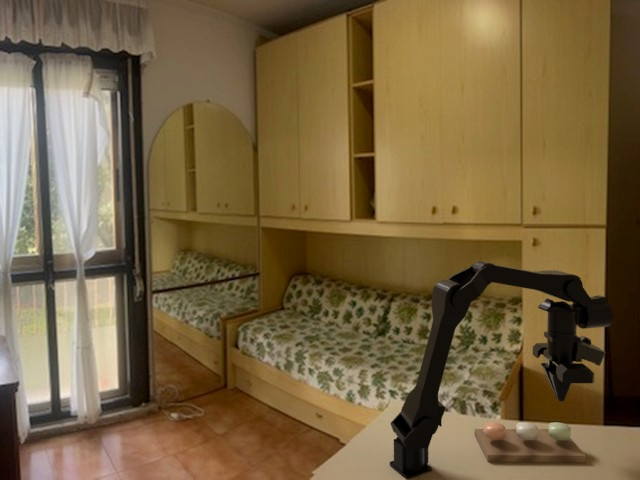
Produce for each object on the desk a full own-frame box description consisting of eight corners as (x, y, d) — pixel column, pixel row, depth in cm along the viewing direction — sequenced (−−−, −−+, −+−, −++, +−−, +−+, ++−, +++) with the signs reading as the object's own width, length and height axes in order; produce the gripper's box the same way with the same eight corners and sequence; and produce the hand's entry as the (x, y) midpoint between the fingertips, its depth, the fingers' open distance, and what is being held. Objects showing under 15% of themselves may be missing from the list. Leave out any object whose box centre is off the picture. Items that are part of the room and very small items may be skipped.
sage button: (553, 440, 114) (553, 431, 114) (545, 430, 119) (545, 422, 119) (573, 440, 114) (574, 431, 114) (565, 430, 119) (565, 422, 118)
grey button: (519, 440, 115) (520, 431, 115) (513, 430, 119) (513, 422, 119) (540, 440, 115) (540, 431, 114) (533, 430, 119) (533, 422, 119)
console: (487, 461, 112) (487, 454, 112) (474, 435, 124) (474, 428, 124) (585, 462, 111) (585, 454, 111) (562, 435, 123) (562, 428, 122)
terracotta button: (487, 440, 115) (487, 431, 115) (482, 430, 120) (482, 422, 119) (507, 440, 115) (507, 431, 115) (501, 430, 119) (502, 422, 119)
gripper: (622, 342, 104) (619, 418, 106) (581, 318, 123) (579, 383, 124) (564, 343, 105) (562, 418, 107) (532, 319, 124) (531, 384, 125)
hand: (560, 400), depth 116 cm, fingers closed
